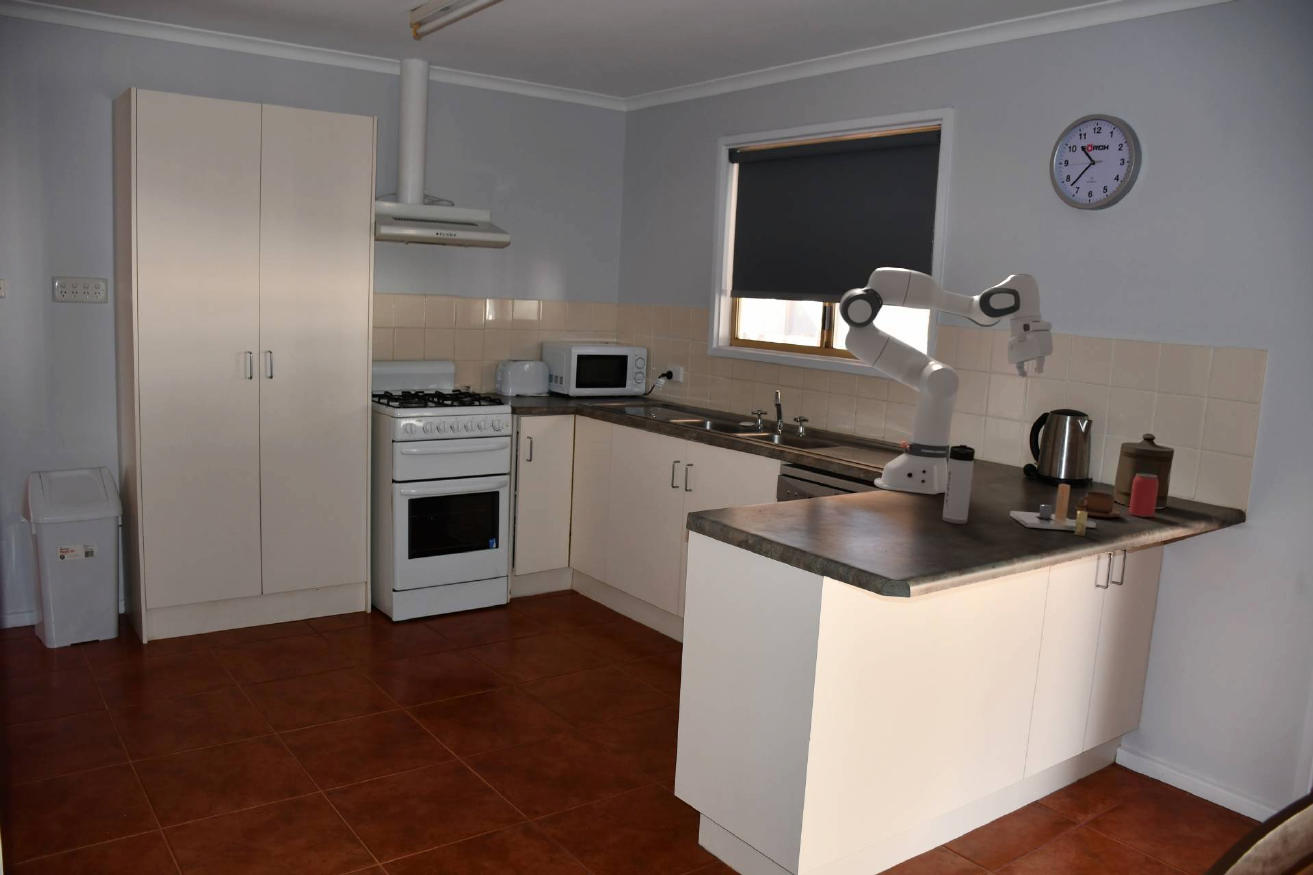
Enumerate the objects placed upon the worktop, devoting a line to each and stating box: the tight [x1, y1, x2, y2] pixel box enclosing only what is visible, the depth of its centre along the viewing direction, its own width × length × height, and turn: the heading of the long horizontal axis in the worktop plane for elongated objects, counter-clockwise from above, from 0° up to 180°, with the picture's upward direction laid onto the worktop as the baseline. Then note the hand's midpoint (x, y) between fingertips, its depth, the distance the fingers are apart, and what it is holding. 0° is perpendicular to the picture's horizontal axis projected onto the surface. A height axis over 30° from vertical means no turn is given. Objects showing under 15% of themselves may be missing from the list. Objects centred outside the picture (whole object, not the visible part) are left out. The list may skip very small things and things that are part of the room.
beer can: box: [1128, 473, 1159, 518], centre depth 283 cm, size 7×7×12 cm
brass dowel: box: [1074, 510, 1088, 537], centre depth 253 cm, size 2×2×6 cm
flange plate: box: [1009, 483, 1097, 532], centre depth 263 cm, size 20×14×10 cm
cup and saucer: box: [1075, 491, 1122, 519], centre depth 280 cm, size 12×12×6 cm
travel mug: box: [942, 444, 976, 525], centre depth 259 cm, size 6×7×20 cm
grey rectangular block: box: [1038, 504, 1053, 520], centre depth 264 cm, size 3×3×5 cm
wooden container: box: [1112, 433, 1175, 508], centre depth 300 cm, size 15×15×22 cm
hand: (1031, 375), depth 290 cm, fingers open, 8 cm apart
